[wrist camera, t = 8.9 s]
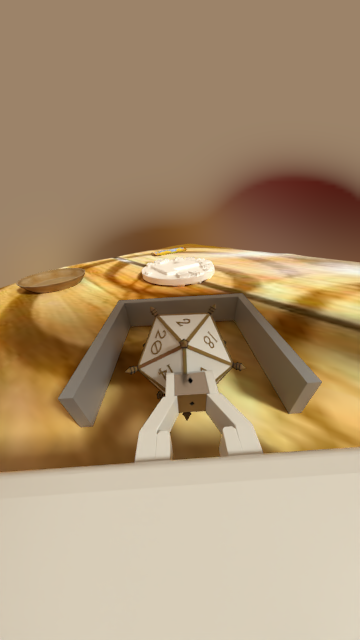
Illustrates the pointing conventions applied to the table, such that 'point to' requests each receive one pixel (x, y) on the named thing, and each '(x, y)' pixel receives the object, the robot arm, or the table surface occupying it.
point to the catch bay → (264, 341)
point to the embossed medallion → (178, 271)
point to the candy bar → (170, 251)
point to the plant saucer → (52, 280)
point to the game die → (183, 348)
